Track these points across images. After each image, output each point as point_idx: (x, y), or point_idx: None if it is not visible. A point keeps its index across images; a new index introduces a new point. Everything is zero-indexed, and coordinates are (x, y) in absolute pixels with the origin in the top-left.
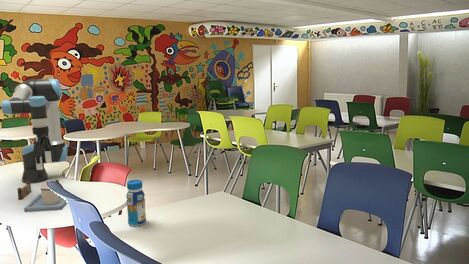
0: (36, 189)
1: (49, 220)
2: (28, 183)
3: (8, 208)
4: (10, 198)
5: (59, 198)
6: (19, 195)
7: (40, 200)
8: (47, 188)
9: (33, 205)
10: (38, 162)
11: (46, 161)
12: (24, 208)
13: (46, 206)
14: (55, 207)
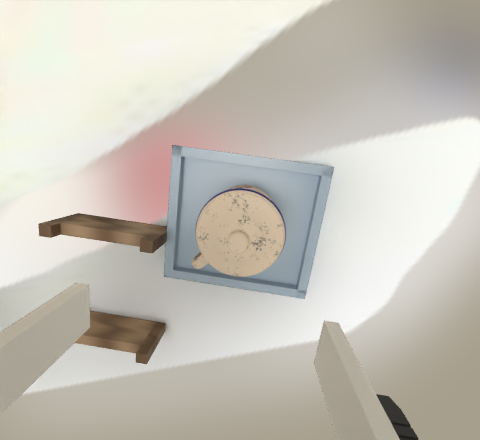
0: None
1: (434, 191)
2: None
3: (246, 343)
4: None
5: (250, 186)
6: (158, 338)
7: None
8: (283, 240)
9: (258, 274)
10: (399, 424)
11: (78, 333)
12: (304, 296)
13: (316, 224)
14: (327, 189)
